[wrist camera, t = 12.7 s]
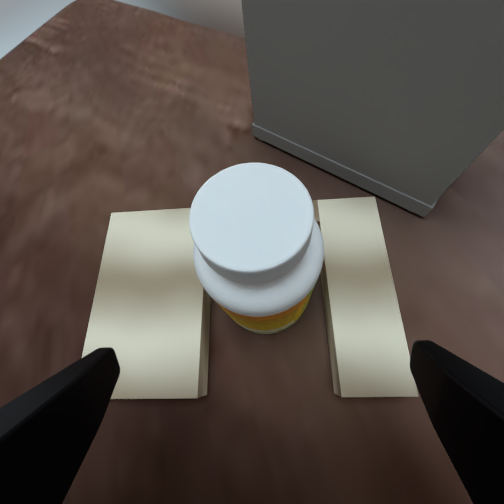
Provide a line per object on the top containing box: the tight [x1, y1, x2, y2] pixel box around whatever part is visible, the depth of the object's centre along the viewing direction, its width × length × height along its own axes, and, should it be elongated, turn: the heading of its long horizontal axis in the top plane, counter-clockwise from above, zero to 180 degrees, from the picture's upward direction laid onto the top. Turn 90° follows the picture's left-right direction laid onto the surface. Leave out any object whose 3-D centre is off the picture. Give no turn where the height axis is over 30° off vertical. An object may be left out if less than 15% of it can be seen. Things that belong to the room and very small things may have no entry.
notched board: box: [82, 197, 418, 399], centre depth 17 cm, size 11×17×2 cm, turn 91°
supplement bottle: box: [189, 163, 324, 334], centre depth 13 cm, size 5×5×10 cm
